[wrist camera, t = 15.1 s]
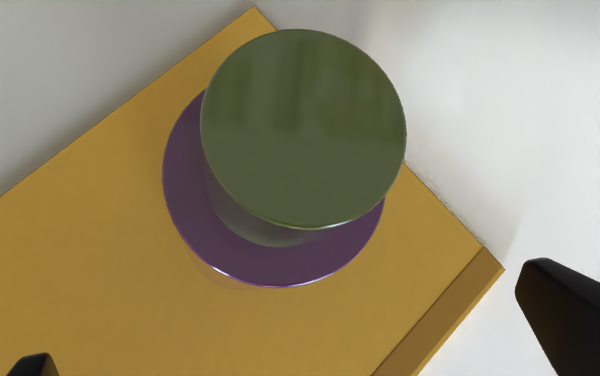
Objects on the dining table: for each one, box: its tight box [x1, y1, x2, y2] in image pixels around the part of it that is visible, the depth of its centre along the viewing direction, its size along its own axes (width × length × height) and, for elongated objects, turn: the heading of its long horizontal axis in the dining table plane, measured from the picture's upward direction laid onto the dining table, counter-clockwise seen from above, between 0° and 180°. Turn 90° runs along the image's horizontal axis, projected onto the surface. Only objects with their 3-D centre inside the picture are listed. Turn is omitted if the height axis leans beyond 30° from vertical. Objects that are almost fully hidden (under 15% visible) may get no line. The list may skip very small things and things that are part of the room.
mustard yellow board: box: [0, 6, 505, 376], centre depth 19 cm, size 20×16×1 cm
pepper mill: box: [162, 29, 407, 291], centre depth 13 cm, size 5×5×12 cm
